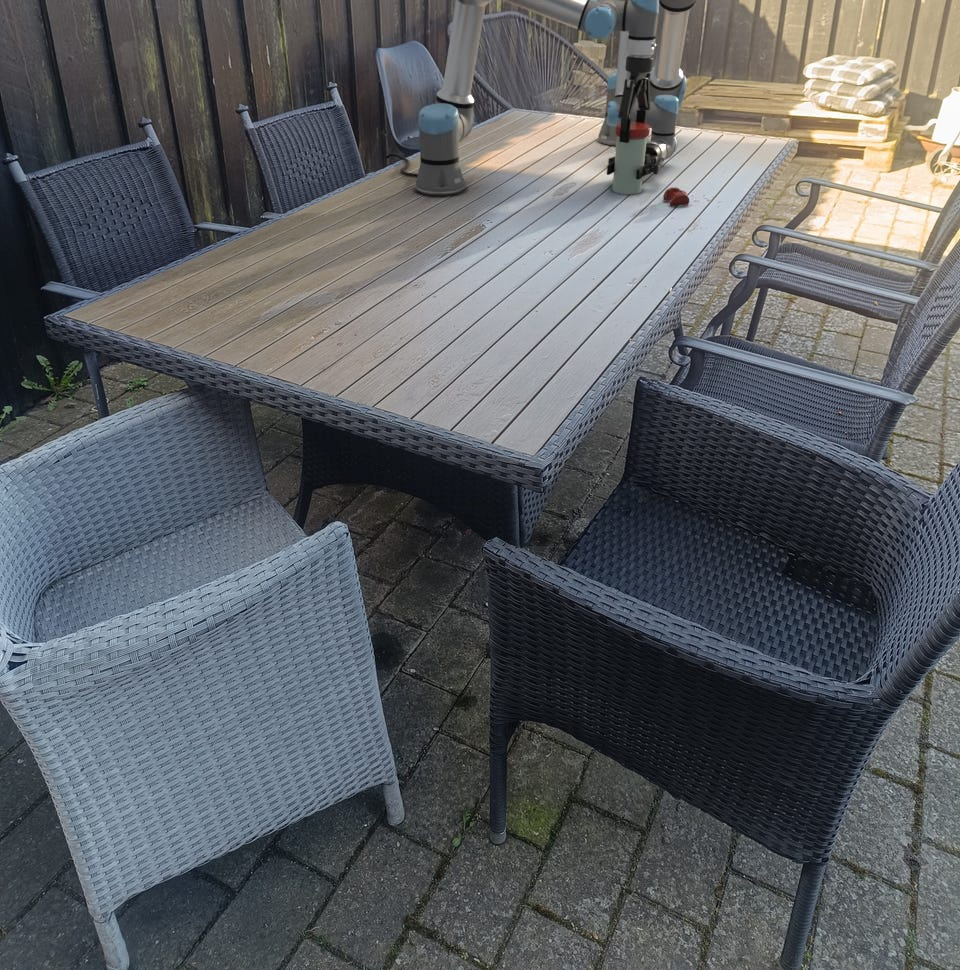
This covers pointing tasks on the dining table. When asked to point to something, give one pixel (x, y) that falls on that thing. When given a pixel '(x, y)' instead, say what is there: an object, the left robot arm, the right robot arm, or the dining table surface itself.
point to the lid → (635, 130)
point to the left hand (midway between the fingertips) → (631, 137)
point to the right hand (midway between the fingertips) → (622, 172)
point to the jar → (628, 165)
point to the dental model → (676, 197)
